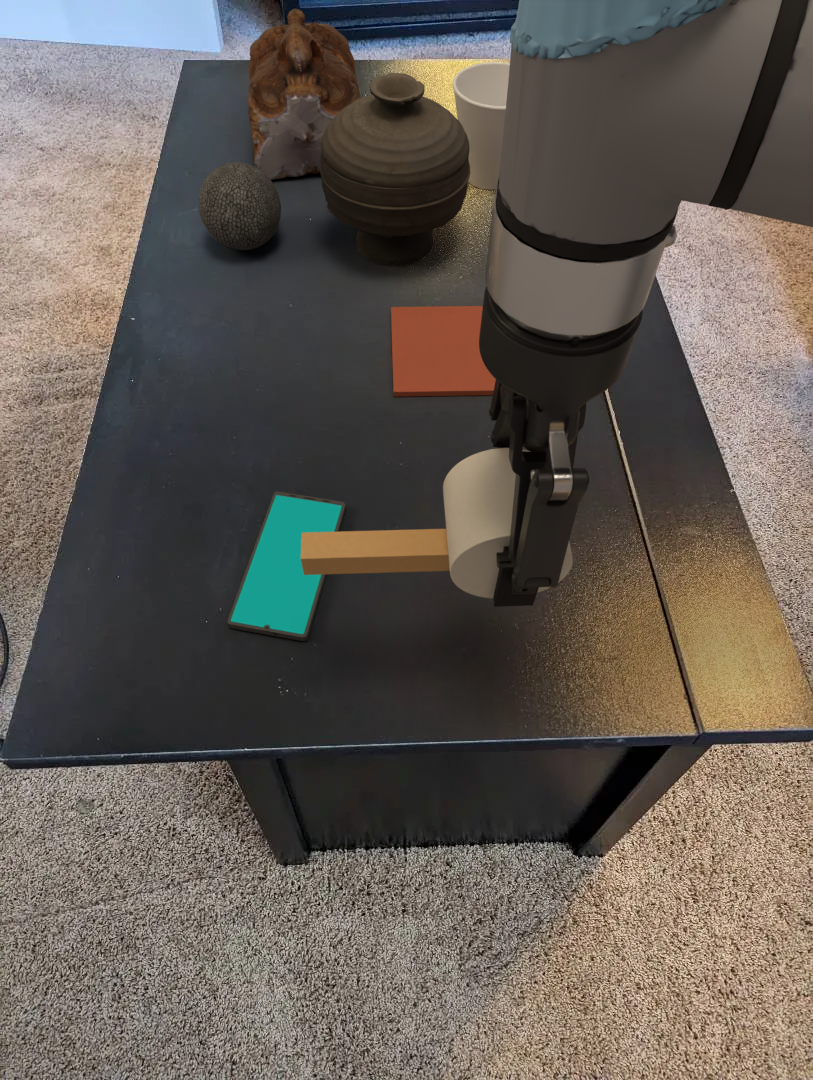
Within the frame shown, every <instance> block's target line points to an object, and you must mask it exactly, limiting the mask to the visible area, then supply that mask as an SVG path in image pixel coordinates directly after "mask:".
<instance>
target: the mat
mask: <svg viewBox="0 0 813 1080" xmlns="http://www.w3.org/2000/svg"><path fill="white" fill-rule="evenodd" d="M482 309H483V305H447V306H445V305H444V306H442V305H441V306H438V305H437V306H433V305H432V306H391V307H390V318H391V319H390V322H391V323H390V324H391V325H390V326H391V354H392V356H391V357H392V359H391V361H392V388H393V389H392V391H393V397H394V398H396V397H397V398H399V397H400V398H401V397H403V398H404V397H405V398H406V397H407V398H408V397H453V396H454V397H463V396H465V397H467V396H468V397H469V396H471V397H472V396H473V397H474V396H493V391H494V386H495V381H496V379H495V378H494V377H493V376H492V374H491V373H490V372H489V371H488V369H487V368H486V366H485V364H484V362H483V360H482V358H481V354H480V350H479V335H480V326H481V318H482Z"/></svg>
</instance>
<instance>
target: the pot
mask: <svg viewBox="0 0 813 1080" xmlns="http://www.w3.org/2000/svg"><path fill="white" fill-rule="evenodd" d="M425 88H426V87H425V83H423V82H421V81H419V80H417V79H416V78H415V77H414V76H412V75H410V74H407V73H402V72H401V73H400V72H391V73H387V74H383V75H378V76H376V77H374V78H372V80H371V81H370V84H369V92H370V95H366V96H363V97H361V98H360V99H358V100H356V101H354V102H353V103H351V104H350V105H348V106H347V107H345V108H344V109H343V110H341V111H340V112H339V113H338V114H337V115H336V116H335V117H334V118H333V119H332V120H331V122H330V124H329V125H328V126H327V128H326V129H325V131H324V134H323V137H322V141H321V159H320V162H321V164H320V165H321V167H320V168H321V170H320V173H319V174H320V177H321V187H322V191H323V194H324V198H325V201H326V207H327V210H328V211H327V212H328V213H330V214H331V215H333V216H334V217H335V218H337V219H338V220H339V221H340V222H342V223H343V224H346V225H347V226H350V227H351V228H354V230H357V234H356V238H355V245H356V249H357V250H358V252H359V254H360V255H361V256H363V257H364V258H365V259H367V260H369V261H371V262H373V263H375V264H378V265H380V266H385V267H405V266H409V265H414V264H415V263H418V262H420V261H421V260H424V259H425V258H427V256H429V255H430V254H431V253H432V250H433V249H434V246H435V240H434V233H433V231H434V230H436V229H440V228H443V227H445V226H446V225H447V224H448V223H450V222H451V221H453V219H454V218H455V217H456V216H457V215H458V214H459V213H460V211H461V210H462V209H463V206H464V202H465V198H466V196H467V193H468V187H469V182H468V180H469V177H470V164H469V151H470V146H469V140H468V137H467V134H466V132H465V131H464V128H463V126H462V125H461V123H460V122H459V121H458V118H457V117H456V116H455V115H454V114H453V113H452V112H451V111H450V110H448V109H447V108H446V107H444V106H443V105H441V103H439V102H437V101H436V100H433V99H431V98H428V97H426V96H424V94H425Z"/></svg>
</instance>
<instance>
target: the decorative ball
mask: <svg viewBox="0 0 813 1080" xmlns="http://www.w3.org/2000/svg"><path fill="white" fill-rule="evenodd" d="M198 211H199V215H200V218H201V222H202V224H203V225H204V227H205V229H206V230H207V232H208V234H209V235H210V236H211V237H212V238H213V239H214V240H215V241H217V242H218V243H220V244H221V245H223V246H224V247H227V248H229V249H232V250H238V251H249V250H254V249H257V248H259V247H261V246H263V245H265V244H267V242H268V241H270V239H271V238H272V237H273V236H274V234H275V233H276V232H277V229H278V227H279V225H280V222H281V217H282V216H281V215H282V204H281V200H280V195H279V193H278V190H277V187H276V185H275V184H274V182H273V181H272V180H270V178H269V177H268V176H267V175H266V174H265V173H263V172H262V171H261V170H259V169H258V168H256V167H255V165H251V164H248V163H246V162H239V161H237V162H235V161H233V162H228V163H224V164H221V165H219V166H217V167H215V168H214V169H212V171H211V172H209V173H208V174H207V176H206V177H205V179H204V181H203V183H202V184H201V187H200V190H199V194H198Z"/></svg>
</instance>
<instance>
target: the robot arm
mask: <svg viewBox="0 0 813 1080" xmlns="http://www.w3.org/2000/svg"><path fill="white" fill-rule="evenodd" d="M515 17H516V18H515V21H514V23H513V24H512V25H511V27H510V34H509V44H511V46H510V57H509V63H510V68H509V80H508V90H507V101H506V111H505V121H504V131H503V141H502V151H501V161H500V171H499V177H498V185H497V189H495V193H494V198H493V201H492V209H491V210H492V211H491V220H490V228H489V229H490V230H489V238H488V246H487V247H488V248H487V258H486V267H485V276H484V280H485V284H486V285H485V288H484V293H483V302H482V306H483V309H482V318H481V326H480V335H479V350H480V354H481V358H482V360H483V362H484V364H485V366H486V368H487V369H488V371H489V372H490V373H491V374H492V376H493V377H494V378H495V379H496V381H495V386H494V391H493V395H492V396H491V403H490V407H489V409H488V414H489V415H488V416H489V417H490V421H492V422H493V421H494V422H495V423H494V427H493V429H492V431H491V435H490V442H491V443H492V447H493V448H496V449H497V448H509V461H510V464H511V467H512V470H513V472H514V473H516V478H515V489H514V500H513V511H512V522H511V533H510V543H509V546H505V547H504V549H503V552H497V553H496V560H497V567H498V568H499V573H498V577H497V582H496V587H495V591H494V596H493V598H492V599H493V607H494V608H497V607H499V608H500V607H526V606H527V607H530V606H534V604H535V600H536V598H537V594H538V593H537V591H538V588H539V587H550V588H557V587H558V586H559V583H560V582H559V578H560V574H561V570H562V566H563V562H564V558H565V555H566V551H567V547H568V543H569V542H570V539H571V534H572V531H573V528H574V523H575V519H576V515H577V512H578V508H579V504H580V503H581V501H582V499H583V497H584V496H585V494H586V493H587V490H588V488H589V487H588V486H589V484H590V476H589V472H588V469H587V467H574V463H575V458H576V449H577V443H578V437H579V436H578V435H579V432H580V431H581V430H582V429H583V428H584V425H585V421H586V412H587V403H588V402H589V401H591V400H593V399H594V398H596V397H597V396H599V395H601V394H603V393H604V392H606V391H607V390H609V389H610V388H611V387H613V386H614V385H615V384H616V383H617V382H618V380H620V378H621V376H622V375H623V373H624V371H625V369H626V368H627V365H628V362H629V359H630V355H631V353H632V349H633V347H634V344H635V340H636V338H637V334H638V332H639V329H640V325H641V323H642V320H643V310H644V308H645V305H646V304H647V301H648V297H649V295H650V292H651V289H652V286H653V283H654V280H655V277H656V275H657V271H658V269H659V266H660V262H661V260H662V256H663V253H664V251H665V248H669V247H671V246H673V245H674V244H675V242H676V240H677V237H678V233H677V230H676V226H675V225H674V223H675V221H676V218H677V215H678V212H679V207H680V205H681V203H682V201H684V202H688V203H691V204H696V205H697V204H698V205H704V206H708V207H713V208H719V209H722V210H725V211H727V210H732V211H737V212H741V213H746V214H750V215H754V216H755V215H756V216H759V217H765V218H768V219H773V220H778V221H781V222H782V221H783V222H786V223H791V224H796V225H799V226H804V227H809V228H813V0H519V1H518V6H517V12H516V16H515ZM523 449H526V450H528V451H530V452H523V451H522V450H523Z"/></svg>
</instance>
